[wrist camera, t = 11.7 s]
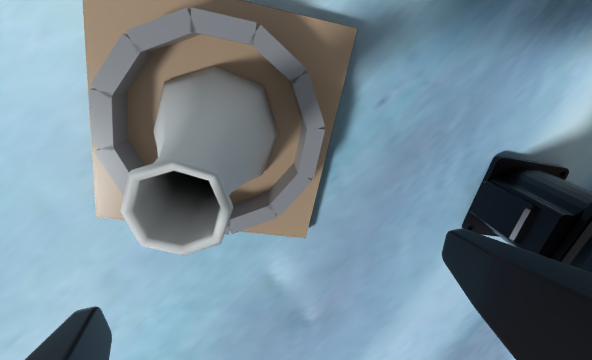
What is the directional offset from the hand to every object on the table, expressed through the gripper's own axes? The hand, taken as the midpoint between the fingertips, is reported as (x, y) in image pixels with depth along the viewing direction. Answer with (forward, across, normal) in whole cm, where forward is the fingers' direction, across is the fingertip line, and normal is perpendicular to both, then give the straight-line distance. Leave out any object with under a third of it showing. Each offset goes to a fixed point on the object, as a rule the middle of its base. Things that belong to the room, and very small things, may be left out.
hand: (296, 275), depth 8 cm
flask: (+13, +1, 0) cm, 13 cm away
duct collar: (+14, +1, 0) cm, 14 cm away
